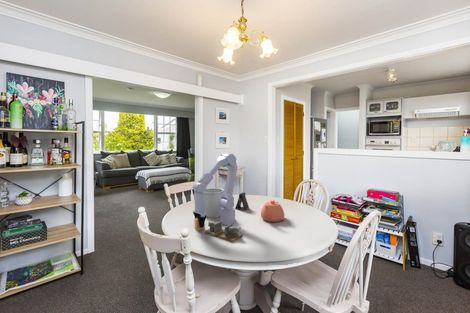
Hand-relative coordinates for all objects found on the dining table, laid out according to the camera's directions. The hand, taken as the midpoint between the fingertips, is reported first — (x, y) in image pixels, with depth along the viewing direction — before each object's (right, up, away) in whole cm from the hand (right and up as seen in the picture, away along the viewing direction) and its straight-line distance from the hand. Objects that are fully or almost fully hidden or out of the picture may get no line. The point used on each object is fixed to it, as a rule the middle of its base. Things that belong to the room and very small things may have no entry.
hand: (199, 225), depth 137 cm
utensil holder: (+6, 0, +25) cm, 26 cm away
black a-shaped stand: (+27, +1, +39) cm, 47 cm away
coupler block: (0, -2, 0) cm, 2 cm away
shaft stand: (+15, -3, -9) cm, 17 cm away
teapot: (+46, -1, +16) cm, 48 cm away
